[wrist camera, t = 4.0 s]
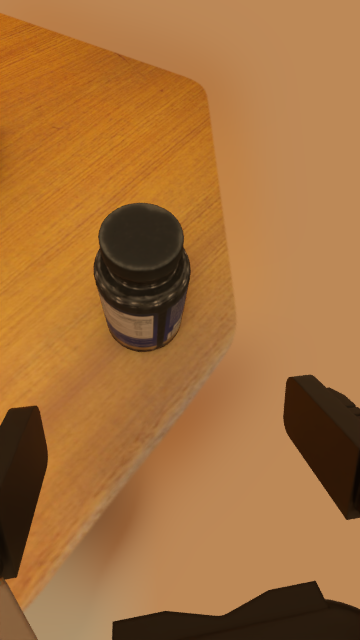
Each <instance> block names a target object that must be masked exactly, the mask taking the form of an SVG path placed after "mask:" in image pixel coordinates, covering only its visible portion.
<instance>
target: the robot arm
mask: <svg viewBox="0 0 360 640" xmlns="http://www.w3.org/2000/svg"><path fill="white" fill-rule="evenodd" d="M285 392H286V393H285V403H284V415H283V419H284V426H285V429H286V432H287V434H288V436H289V437H290V439H291V440H292V442H293V443H294V445H295V446H296V447H297V449H298V450H299V452H300V453H301V455H302V456H303V458H304V459H305V460H306V462H307V463H308V465H309V466H310V468H311V469H312V471H313V472H314V473H315V475H316V476H317V478H318V479H319V481H320V482H321V484H322V485H323V487H324V488H325V489H326V491H327V492H328V494H329V495H330V497H331V498H332V499H333V501H334V502H335V504H336V505H337V507H338V508H339V510H340V511H341V512H342V514H343V515H344V517H345V518H346V520H349V519H355V518H360V409H359V408H358V407H356V406H355V404H354V403H353V402H351V401H350V400H349V399H348V398H347V397H346V396H345V395H343V394H341V393H339V392H337V391H335V390H333V389H331V388H326V387H325V386H324V385H323V384H322V383H321V382H320V381H318V380H317V379H316V378H315V377H314V376H313V375H303V376H295V377H289V378H288V379H287V382H286V391H285ZM47 461H48V451H47V444H46V440H45V435H44V430H43V425H42V420H41V415H40V411H39V408H38V407H37V406H28V407H19V408H11V409H9V411H8V412H7V414H6V416H5V418H4V420H3V422H2V424H1V426H0V640H38V639H37V637H36V635H35V634H34V632H33V630H32V628H31V626H30V624H29V623H28V621H27V619H26V617H25V615H24V613H23V612H22V610H21V608H20V606H19V604H18V602H17V601H16V599H15V597H14V595H13V593H12V592H11V590H10V588H9V586H8V584H7V583H6V581H5V579H10V578H16V577H17V574H18V571H19V567H20V563H21V560H22V556H23V552H24V549H25V545H26V541H27V538H28V534H29V530H30V527H31V523H32V520H33V516H34V512H35V509H36V505H37V501H38V498H39V494H40V490H41V487H42V483H43V479H44V476H45V472H46V468H47ZM112 640H360V609H358V608H356V607H353V606H351V605H348V604H345V603H342V602H337V601H333V600H326V599H324V597H323V595H322V593H321V591H320V589H319V587H318V585H317V583H316V581H312V582H307V583H302V584H297V585H292V586H287V587H282V588H278V589H272V590H268V591H266V592H265V593H263V594H261V595H259V596H258V597H256V598H254V599H252V600H251V601H249V602H247V603H245V604H243V605H242V606H240V607H238V608H236V609H235V610H233V611H231V612H229V613H227V614H225V615H222V616H212V615H211V616H210V615H201V614H191V613H181V612H180V613H179V612H170V611H163V612H158V613H153V614H149V615H144V616H139V617H134V618H129V619H124V620H119V621H114V622H113V629H112Z"/></svg>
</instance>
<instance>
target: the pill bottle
mask: <svg viewBox="0 0 360 640" xmlns="http://www.w3.org/2000/svg"><path fill="white" fill-rule="evenodd" d="M98 238H99V245H100V249H99V250H98V253H97V255H96V257H95V262H94V277H95V280H96V285H97V288H98V292H99V295H100V299H101V303H102V306H103V310H104V314H105V317H106V321H107V325H108V328H109V330H110V332H111V334H112V336H113V337H114V339H115V340H116V341H117V342H118V343H120V344H121V345H122V346H124V347H126V348H128V349H131V350H134V351H138V352H146V351H152V350H155V349H158V348H161V347H163V346H165V345H166V344H168V343H169V342H170V341H171V340H172V339H173V338H174V337H175V335H176V334H177V332H178V329H179V327H180V323H181V319H182V314H183V309H184V304H185V299H186V294H187V289H188V284H189V280H190V271H191V270H190V262H189V259H188V255H187V253H186V251H185V249H184V248H183V242H184V235H183V230H182V227H181V225H180V223H179V222H178V220H177V219H176V218H175V216H174V215H172V214H171V213H170V212H169V211H167V210H166V209H164V208H162V207H159V206H157V205H153V204H148V203H133V204H128V205H124V206H121V207H120V208H117V209H116V210H114V211H113V212H111V213H110V214H109V215H108V216H107V217H106V218H105V220H104V221H103V223H102V224H101V228H100V230H99V236H98Z"/></svg>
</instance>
